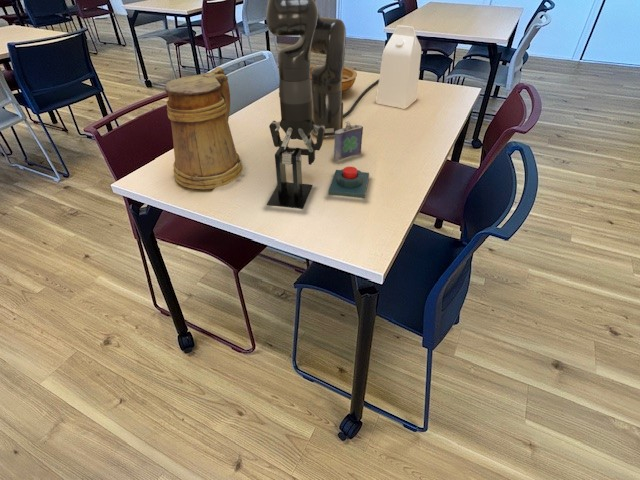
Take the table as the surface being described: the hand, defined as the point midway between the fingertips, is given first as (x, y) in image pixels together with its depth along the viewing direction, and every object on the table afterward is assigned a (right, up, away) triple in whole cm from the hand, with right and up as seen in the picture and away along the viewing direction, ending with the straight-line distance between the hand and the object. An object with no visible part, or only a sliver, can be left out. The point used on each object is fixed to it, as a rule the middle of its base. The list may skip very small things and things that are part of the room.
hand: (298, 162), depth 99 cm
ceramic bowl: (+8, +40, +57) cm, 70 cm away
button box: (+13, -7, 0) cm, 15 cm away
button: (+13, -4, -3) cm, 14 cm away
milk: (+35, +34, +49) cm, 69 cm away
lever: (-1, -1, -6) cm, 6 cm away
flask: (+14, +4, +13) cm, 19 cm away
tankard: (-24, -1, +8) cm, 25 cm away
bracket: (-2, -10, -4) cm, 11 cm away
